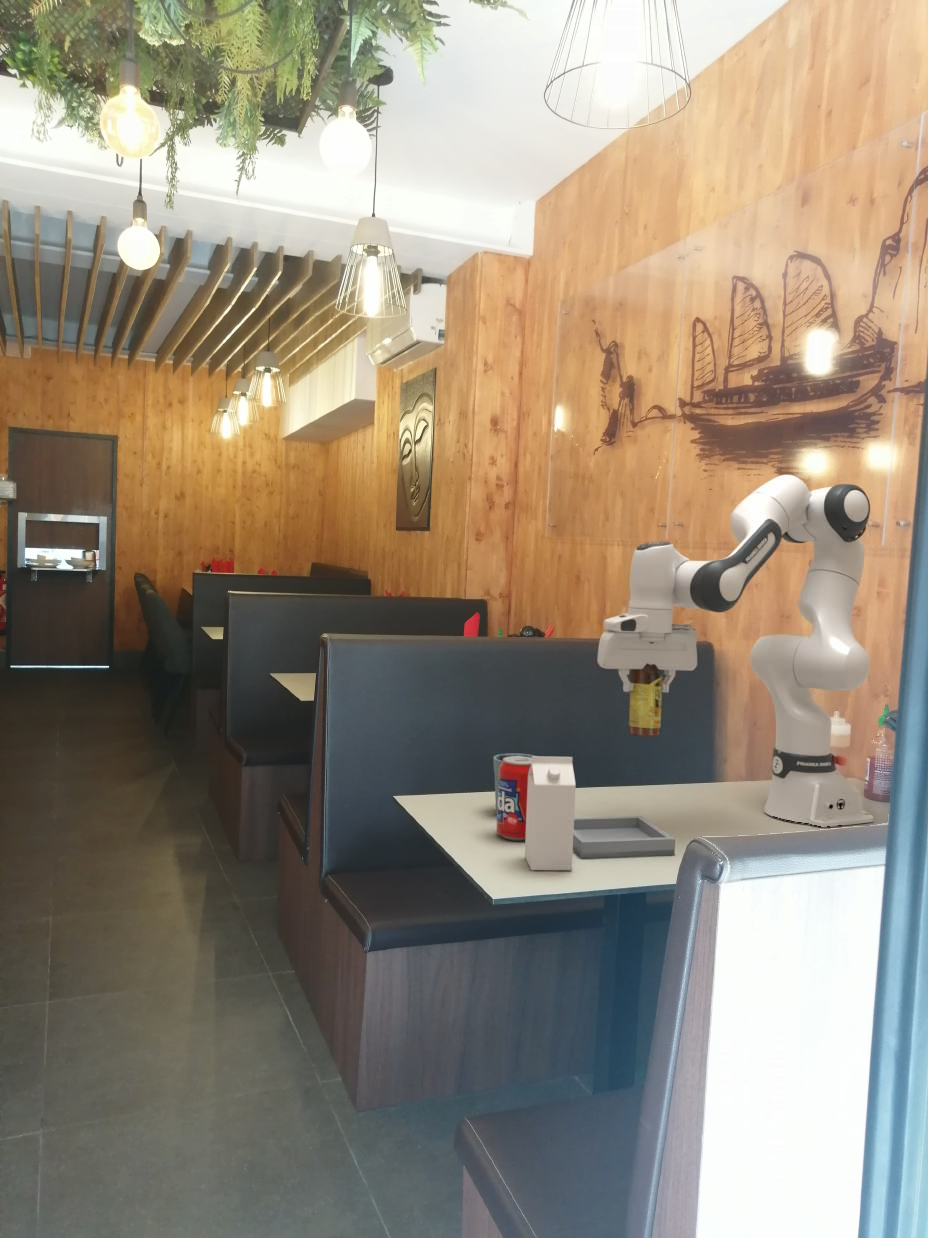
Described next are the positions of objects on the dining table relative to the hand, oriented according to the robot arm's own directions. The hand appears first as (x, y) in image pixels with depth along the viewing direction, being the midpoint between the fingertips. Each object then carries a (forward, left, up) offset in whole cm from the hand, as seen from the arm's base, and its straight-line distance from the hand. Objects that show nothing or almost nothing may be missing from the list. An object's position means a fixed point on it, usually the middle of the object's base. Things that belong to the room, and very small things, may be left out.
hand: (645, 692), depth 177 cm
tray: (+10, +10, -28) cm, 31 cm away
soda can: (+27, +3, -28) cm, 39 cm away
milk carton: (+26, +19, -28) cm, 42 cm away
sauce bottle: (0, 0, -9) cm, 9 cm away
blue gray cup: (+23, -12, -28) cm, 38 cm away
